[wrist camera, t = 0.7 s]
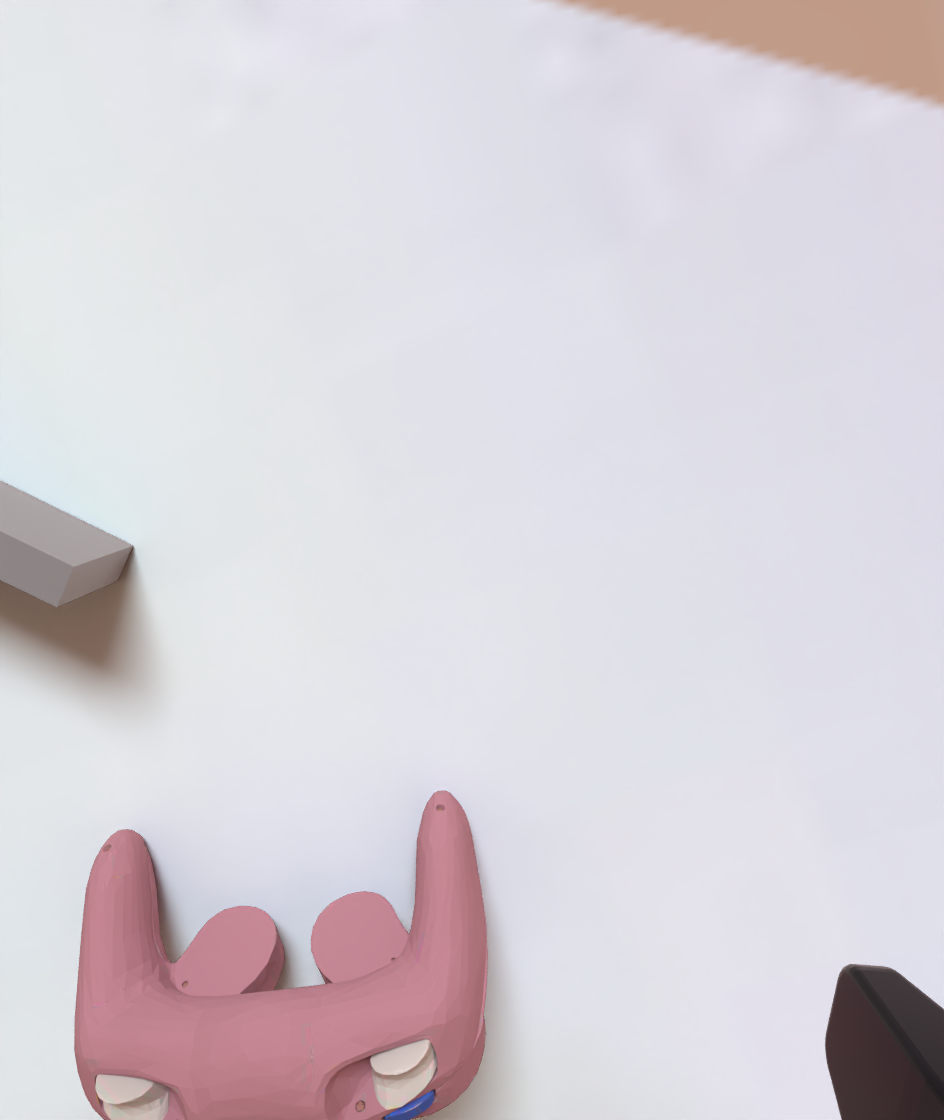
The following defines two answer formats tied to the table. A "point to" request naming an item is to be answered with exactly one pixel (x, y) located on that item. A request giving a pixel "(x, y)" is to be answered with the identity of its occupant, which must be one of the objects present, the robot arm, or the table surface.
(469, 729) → the table surface
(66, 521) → the sorting bay
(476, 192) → the table surface
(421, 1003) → the pink curved piece
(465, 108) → the table surface
